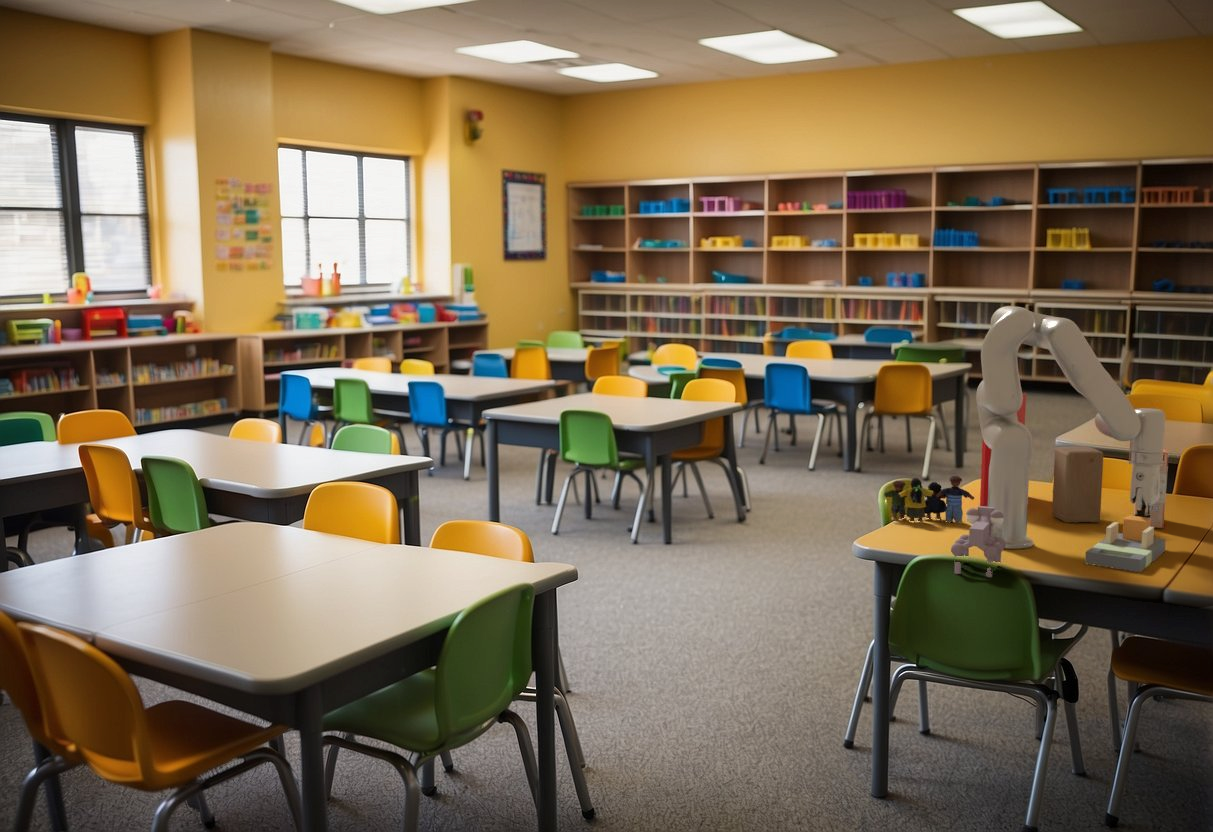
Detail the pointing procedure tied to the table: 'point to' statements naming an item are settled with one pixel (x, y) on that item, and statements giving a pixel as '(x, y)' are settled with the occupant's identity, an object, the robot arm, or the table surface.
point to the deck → (1125, 550)
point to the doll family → (928, 500)
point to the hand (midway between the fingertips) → (1141, 530)
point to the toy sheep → (980, 536)
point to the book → (987, 456)
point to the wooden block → (1077, 484)
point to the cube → (1135, 527)
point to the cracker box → (1159, 506)
